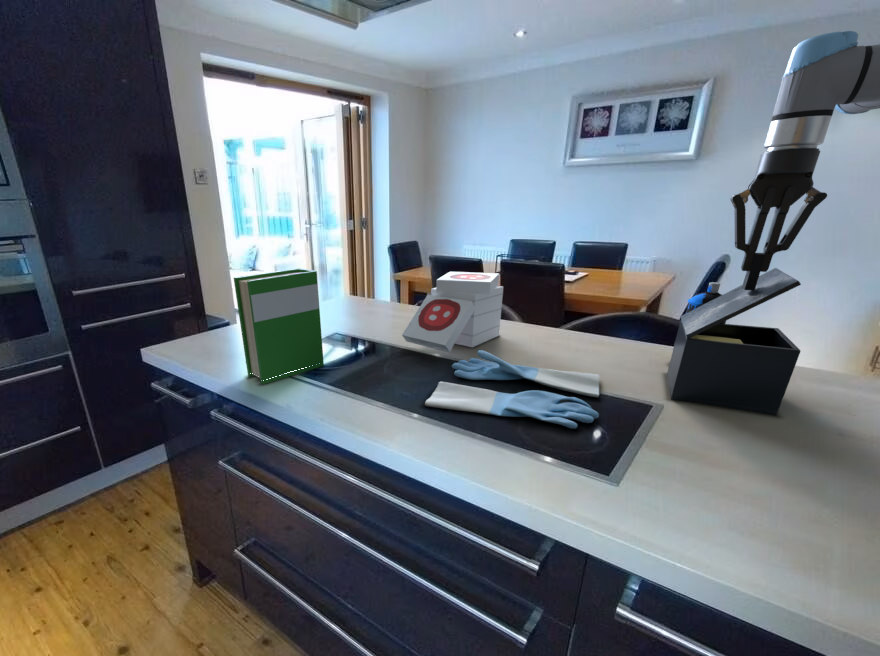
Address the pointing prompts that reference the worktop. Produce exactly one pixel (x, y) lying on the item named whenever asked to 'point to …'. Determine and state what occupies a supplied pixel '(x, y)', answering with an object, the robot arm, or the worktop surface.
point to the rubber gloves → (521, 403)
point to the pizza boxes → (458, 312)
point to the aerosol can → (704, 297)
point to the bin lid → (737, 302)
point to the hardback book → (280, 322)
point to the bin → (733, 368)
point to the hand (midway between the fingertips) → (748, 288)
